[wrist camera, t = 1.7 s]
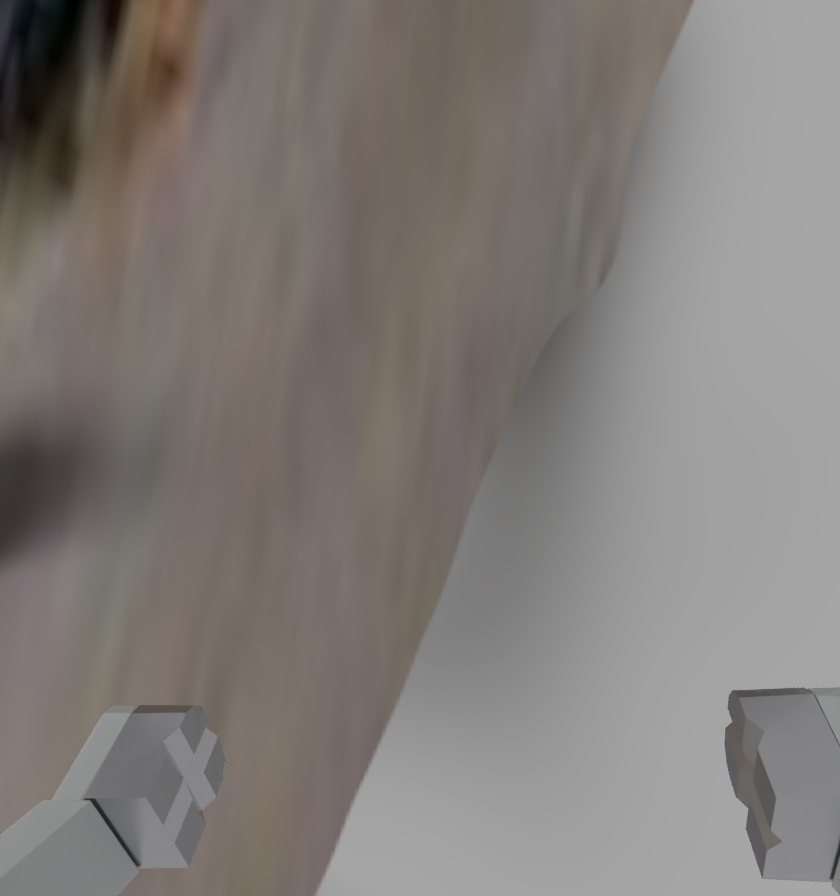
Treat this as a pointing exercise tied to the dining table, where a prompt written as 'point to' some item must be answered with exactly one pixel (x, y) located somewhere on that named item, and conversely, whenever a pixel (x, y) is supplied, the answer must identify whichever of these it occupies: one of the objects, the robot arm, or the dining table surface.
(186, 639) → the dining table surface
